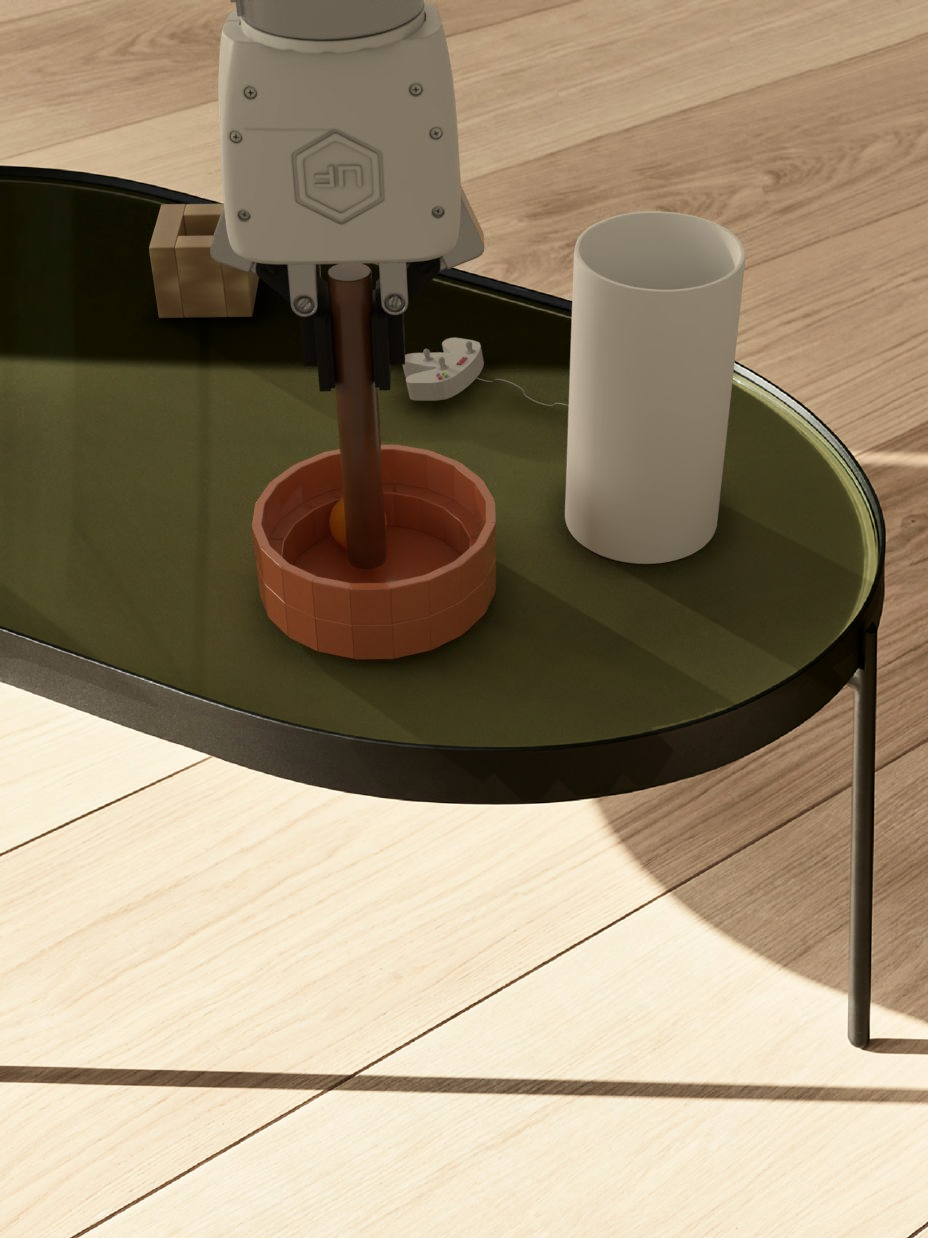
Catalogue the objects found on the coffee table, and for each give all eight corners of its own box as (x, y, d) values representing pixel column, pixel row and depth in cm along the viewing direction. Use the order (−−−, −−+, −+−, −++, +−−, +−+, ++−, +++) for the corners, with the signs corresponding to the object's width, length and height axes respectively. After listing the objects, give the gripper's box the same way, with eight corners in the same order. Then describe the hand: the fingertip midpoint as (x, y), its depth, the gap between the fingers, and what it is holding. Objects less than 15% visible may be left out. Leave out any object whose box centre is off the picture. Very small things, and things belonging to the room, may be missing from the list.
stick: (345, 569, 85) (324, 281, 75) (350, 546, 87) (330, 261, 77) (384, 570, 85) (368, 281, 75) (389, 547, 86) (373, 261, 77)
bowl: (251, 670, 82) (241, 590, 79) (271, 522, 91) (263, 445, 88) (498, 667, 82) (498, 587, 79) (493, 519, 91) (493, 442, 88)
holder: (159, 318, 108) (148, 247, 105) (170, 272, 112) (161, 203, 109) (252, 317, 108) (245, 246, 105) (260, 271, 112) (253, 202, 109)
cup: (746, 511, 91) (778, 243, 81) (659, 584, 86) (681, 309, 76) (624, 456, 95) (640, 195, 85) (534, 523, 91) (539, 255, 80)
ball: (318, 552, 87) (316, 497, 86) (352, 537, 90) (350, 483, 89) (365, 562, 86) (363, 506, 85) (399, 546, 88) (397, 491, 87)
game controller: (408, 356, 104) (407, 318, 102) (594, 371, 103) (596, 333, 101) (391, 405, 100) (389, 367, 98) (584, 422, 98) (586, 383, 97)
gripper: (119, 22, 65) (179, 422, 77) (531, 14, 65) (527, 416, 77) (146, -45, 71) (197, 338, 82) (524, -52, 71) (521, 332, 82)
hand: (356, 373), depth 79 cm, fingers closed on stick, 2 cm apart
